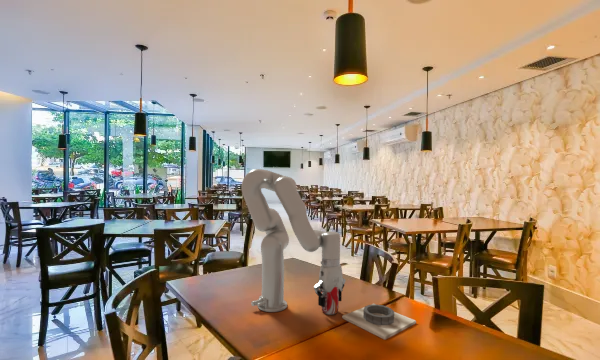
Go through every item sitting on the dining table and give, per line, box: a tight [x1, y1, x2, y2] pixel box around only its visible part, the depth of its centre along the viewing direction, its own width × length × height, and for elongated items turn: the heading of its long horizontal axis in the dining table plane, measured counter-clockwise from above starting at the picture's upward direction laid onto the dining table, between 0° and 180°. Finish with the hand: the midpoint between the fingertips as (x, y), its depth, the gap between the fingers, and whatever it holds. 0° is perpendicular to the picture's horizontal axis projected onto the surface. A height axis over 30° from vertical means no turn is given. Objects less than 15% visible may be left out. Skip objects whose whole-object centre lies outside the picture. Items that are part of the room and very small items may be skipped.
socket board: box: [341, 303, 417, 340], centre depth 117 cm, size 20×20×4 cm
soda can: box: [321, 285, 340, 316], centre depth 124 cm, size 7×7×12 cm
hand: (330, 303), depth 124 cm, fingers open, 9 cm apart
